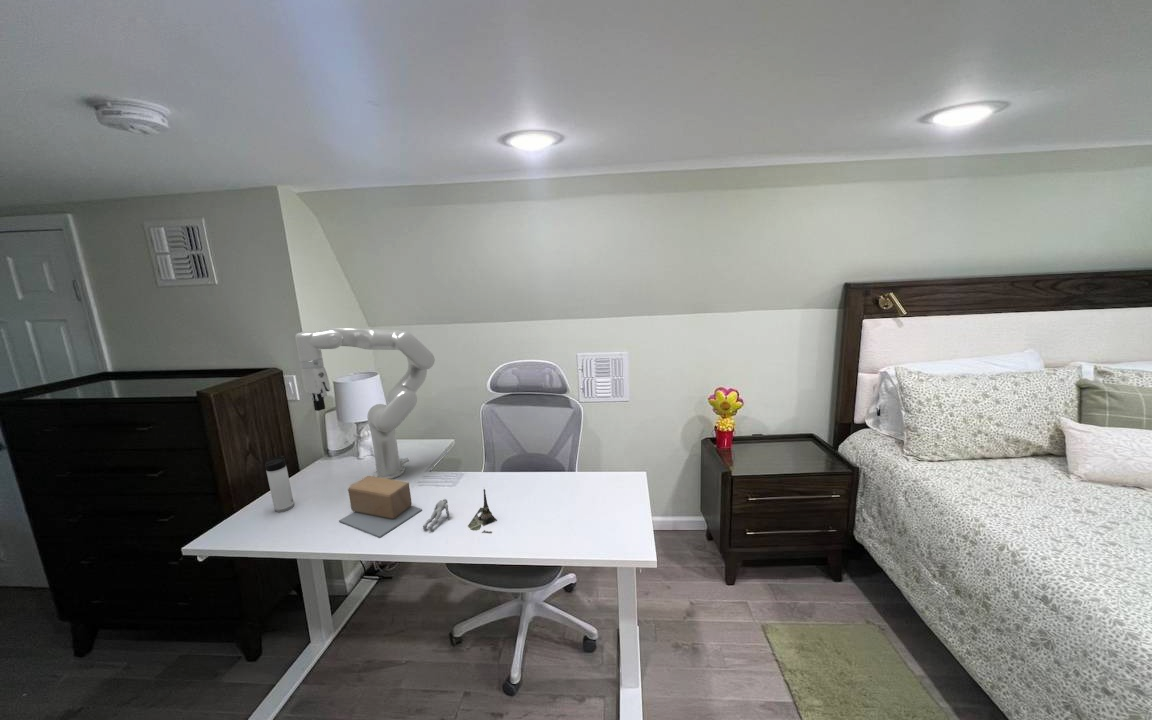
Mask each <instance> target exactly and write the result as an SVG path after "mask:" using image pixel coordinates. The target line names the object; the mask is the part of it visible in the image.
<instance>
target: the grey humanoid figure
mask: <svg viewBox="0 0 1152 720" xmlns="http://www.w3.org/2000/svg"><path fill="white" fill-rule="evenodd" d="M444 510H445V514H446V516H447V517H446V519H447V521H449V519H450V512H449V504H448V499H446V498H444V499H442V500H439V501H437V503H436V505H435V507H434V509H433V512H432V514H431V516H430V518H429V519H428V520H426V522H425V523H424V524H423V526H422V529H423V530H427V529H429V531H430V532H434V525H435V524H437V523H438V521H439V519H440V518H441V516H442V514H443V513H442V512H443V511H444ZM428 525H429V526H428Z"/></svg>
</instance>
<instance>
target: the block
mask: <svg viewBox="0 0 1152 720" xmlns="http://www.w3.org/2000/svg"><path fill="white" fill-rule="evenodd" d="M347 491H348V496H349V503H350V508H351V511H352V512H360V513H365V514H370V515H375V516H380V517H385V518H390V519H394V518H396V517H397V516H399V515H400V514H401V513H402V512H404V511H405V510H406V509H408V508H409V507H410V506H412V504H413V503H412V496H411V488H410V483H409V481H404V480H398V479H397V480H396V479H386V478H379V477H374V476H371V475H367V476H365V477H364V478H362V479H360V480H358V481H357V482H355V483H353V484H352V485H350V486H348V488H347Z"/></svg>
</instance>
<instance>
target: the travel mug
mask: <svg viewBox="0 0 1152 720" xmlns="http://www.w3.org/2000/svg"><path fill="white" fill-rule="evenodd" d="M264 466H265V472H266V476H267V482H268V485H269V489H270V490H269V491H270V494H271V499H272V503H273V504H272V505H273V508H274V512H276V513H284V512H286V511H289V510H291V509H293V507H294V506H295V502H294V497H293V493H292V487H291V482H290V477H289V472H288V467H287V464H286V456H285V455H280V456H277V457H274V458H270V459H269V460H267V461H266V462H265V465H264Z"/></svg>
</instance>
